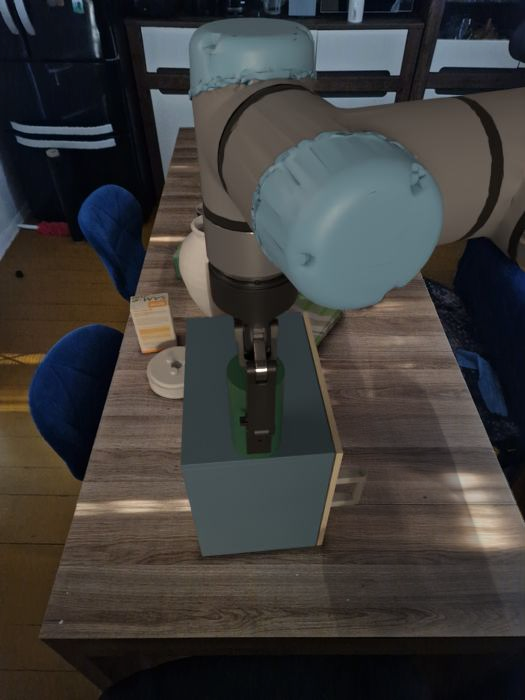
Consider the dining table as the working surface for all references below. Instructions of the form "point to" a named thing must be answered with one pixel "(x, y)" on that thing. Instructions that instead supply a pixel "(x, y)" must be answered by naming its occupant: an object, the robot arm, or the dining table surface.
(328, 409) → the cabinet door
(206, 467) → the cabinet
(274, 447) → the tea tin
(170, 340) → the supplement box
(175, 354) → the lid
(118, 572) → the dining table surface
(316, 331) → the dish towel
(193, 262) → the vase
